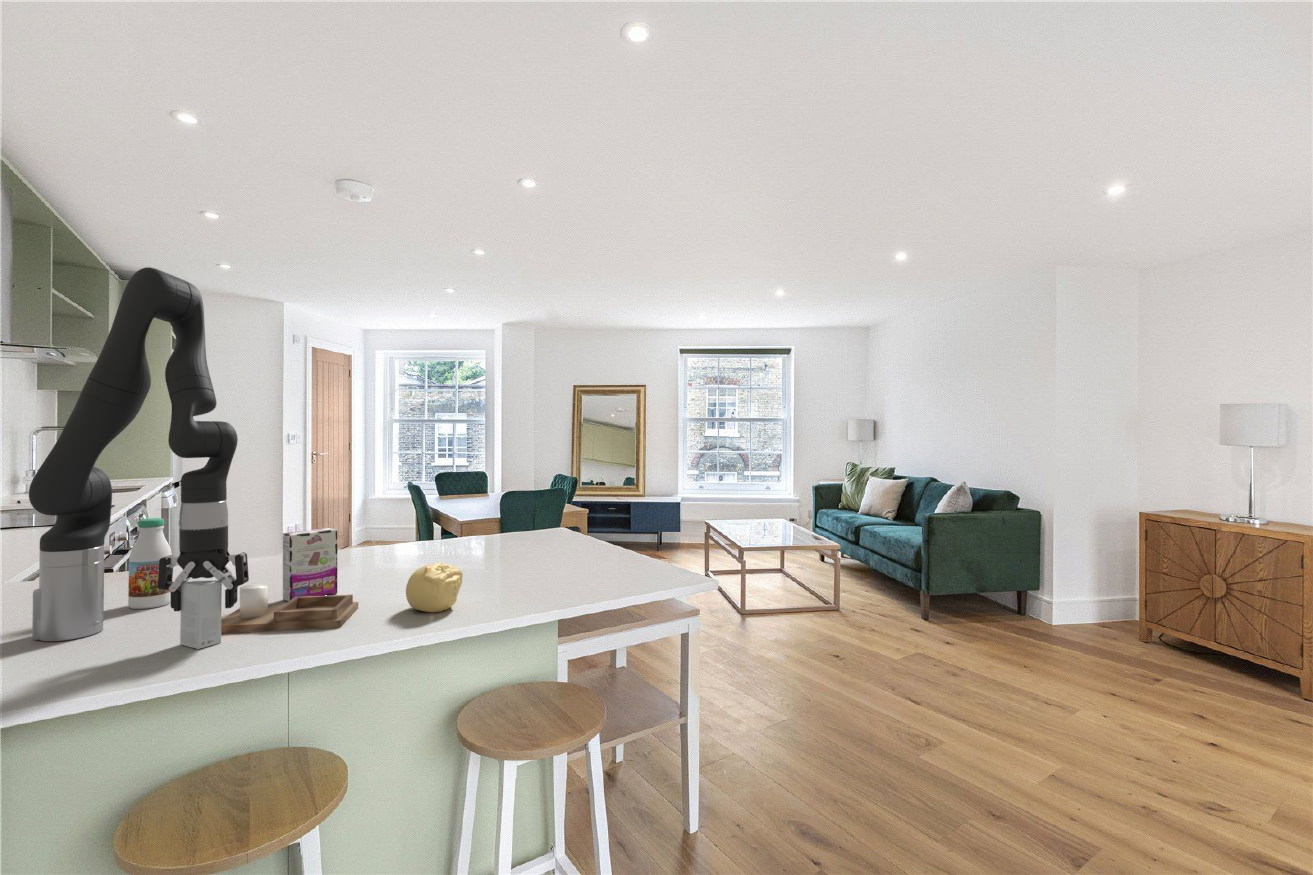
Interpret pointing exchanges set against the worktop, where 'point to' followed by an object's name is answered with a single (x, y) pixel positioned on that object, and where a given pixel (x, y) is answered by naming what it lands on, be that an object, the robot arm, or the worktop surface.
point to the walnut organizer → (287, 612)
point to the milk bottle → (147, 566)
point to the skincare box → (200, 613)
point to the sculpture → (434, 587)
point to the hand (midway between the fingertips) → (204, 608)
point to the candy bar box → (309, 563)
